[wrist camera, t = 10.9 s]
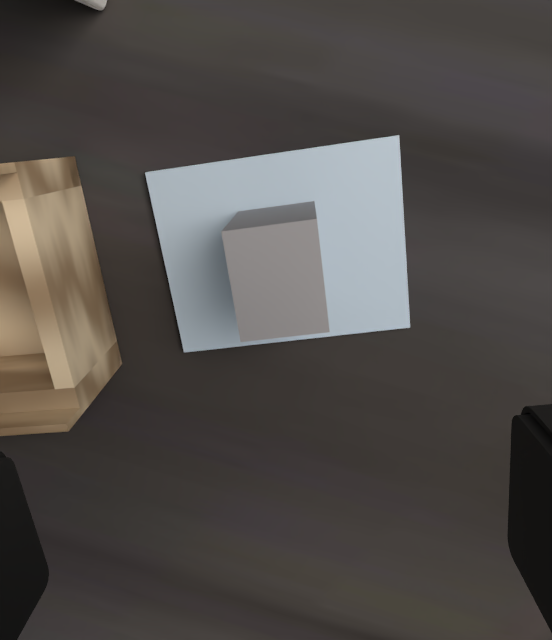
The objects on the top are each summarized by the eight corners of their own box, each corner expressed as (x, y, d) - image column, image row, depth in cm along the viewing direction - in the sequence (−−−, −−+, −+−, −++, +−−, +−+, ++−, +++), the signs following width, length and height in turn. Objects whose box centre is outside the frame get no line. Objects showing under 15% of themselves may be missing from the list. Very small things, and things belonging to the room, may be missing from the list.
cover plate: (406, 321, 30) (435, 374, 23) (187, 345, 31) (156, 403, 24) (395, 135, 26) (426, 135, 20) (150, 171, 28) (102, 182, 21)
